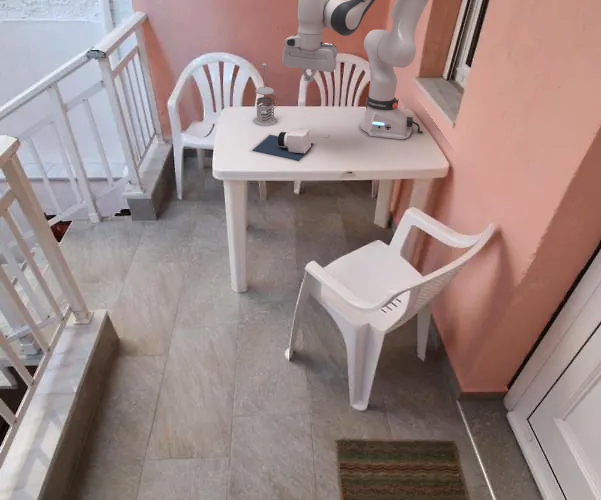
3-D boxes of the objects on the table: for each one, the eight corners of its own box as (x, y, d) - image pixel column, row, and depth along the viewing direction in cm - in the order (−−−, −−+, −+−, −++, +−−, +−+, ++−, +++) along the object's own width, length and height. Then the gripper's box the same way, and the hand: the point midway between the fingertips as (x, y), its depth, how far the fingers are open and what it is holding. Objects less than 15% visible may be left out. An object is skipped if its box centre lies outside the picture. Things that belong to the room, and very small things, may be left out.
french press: (250, 119, 190) (247, 62, 174) (271, 114, 195) (270, 58, 180) (262, 127, 184) (260, 68, 168) (283, 121, 189) (283, 63, 174)
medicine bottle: (309, 129, 163) (282, 127, 167) (303, 136, 158) (275, 134, 162) (311, 146, 167) (284, 144, 171) (304, 153, 162) (277, 151, 166)
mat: (313, 144, 172) (313, 143, 172) (298, 160, 160) (298, 159, 160) (270, 135, 177) (270, 134, 177) (252, 150, 166) (252, 149, 166)
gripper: (340, 42, 146) (337, 82, 155) (287, 35, 152) (287, 75, 160) (334, 46, 141) (332, 87, 150) (280, 39, 147) (280, 79, 156)
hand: (308, 81), depth 155 cm, fingers closed
